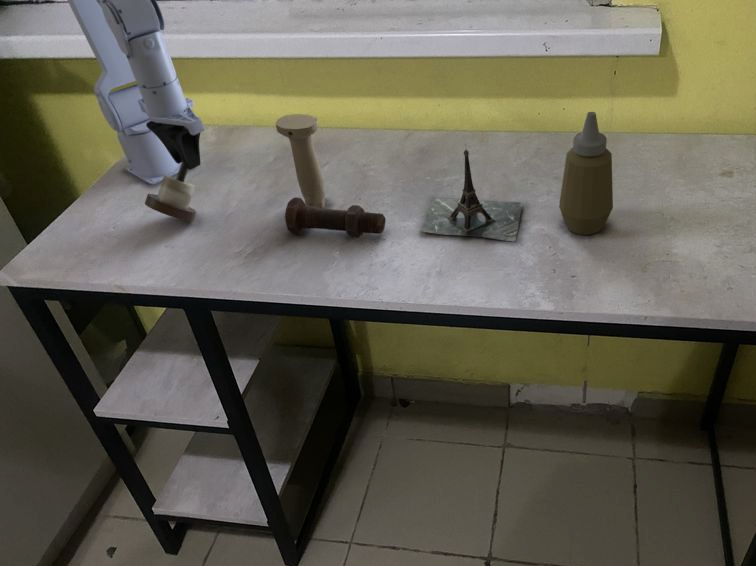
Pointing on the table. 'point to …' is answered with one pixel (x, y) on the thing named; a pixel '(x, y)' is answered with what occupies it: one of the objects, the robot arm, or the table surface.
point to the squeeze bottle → (587, 181)
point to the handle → (304, 156)
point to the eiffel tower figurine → (473, 214)
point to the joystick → (174, 196)
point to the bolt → (332, 219)
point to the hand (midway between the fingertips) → (188, 163)
